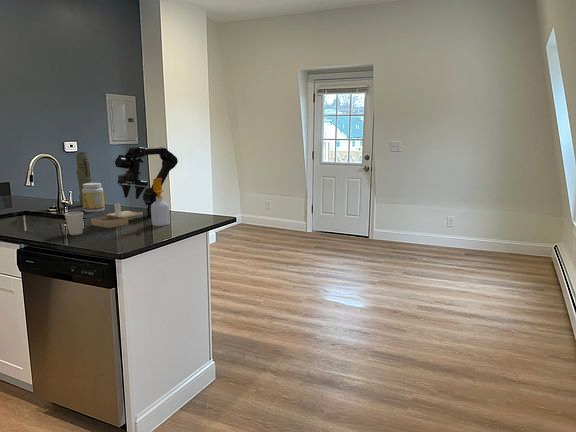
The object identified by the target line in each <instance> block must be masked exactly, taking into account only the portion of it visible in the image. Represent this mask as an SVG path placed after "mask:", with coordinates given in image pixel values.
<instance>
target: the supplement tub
mask: <svg viewBox="0 0 576 432" xmlns="http://www.w3.org/2000/svg"><path fill="white" fill-rule="evenodd" d="M82 198H83V206H82V208H83V211H84V212H86V213H97V212H98V213H99V212H103V211H105V208H106V207H105V197H104V189H103V187H102V183H101V182H92V183H86V184H83V189H82Z"/></svg>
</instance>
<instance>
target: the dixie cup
mask: <svg viewBox="0 0 576 432" xmlns="http://www.w3.org/2000/svg"><path fill="white" fill-rule="evenodd" d="M64 217H65V221H66V225H67V229H68V232H69V235H71V236H77V235H82V234H83V228H84V212H83V211H71V212H70V211H69V212H66V213H64Z"/></svg>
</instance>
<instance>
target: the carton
mask: <svg viewBox="0 0 576 432" xmlns="http://www.w3.org/2000/svg"><path fill="white" fill-rule="evenodd" d="M90 220H91V226H92V225H93V226H94V227H97V226H98V228H104V229H113V228H117V227H121V226H126V225H129V217H126V218H120V217H114V216H107V215H106V216H104V215H103V216H100V217H94V218H91V219H90ZM93 226H92V227H93Z"/></svg>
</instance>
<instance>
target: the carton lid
mask: <svg viewBox="0 0 576 432" xmlns="http://www.w3.org/2000/svg"><path fill="white" fill-rule="evenodd" d="M105 215H106V216H114V217H120V218H126V217H127V218H130V217H135V216H136V217H137V216H140V215H144V213H143V212H139V211H137V212H136V211H131V210H123V211H122V205H121V203H118V202H117V203H114V212H112V213H107V214H105Z"/></svg>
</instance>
